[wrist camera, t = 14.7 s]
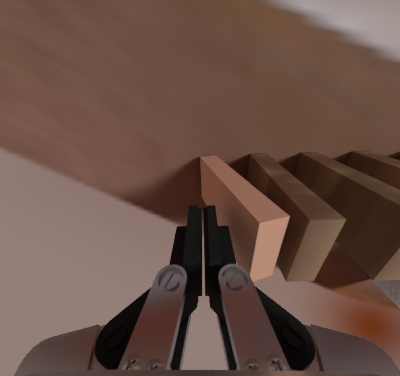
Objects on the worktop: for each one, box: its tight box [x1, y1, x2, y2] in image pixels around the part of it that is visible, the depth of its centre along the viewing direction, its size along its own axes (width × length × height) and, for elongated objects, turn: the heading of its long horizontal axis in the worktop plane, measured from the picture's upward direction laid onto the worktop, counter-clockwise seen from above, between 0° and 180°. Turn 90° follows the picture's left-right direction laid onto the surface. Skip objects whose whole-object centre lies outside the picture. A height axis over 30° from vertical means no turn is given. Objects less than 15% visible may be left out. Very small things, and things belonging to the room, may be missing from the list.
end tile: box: [200, 155, 290, 282], centre depth 13 cm, size 2×5×10 cm, turn 2°
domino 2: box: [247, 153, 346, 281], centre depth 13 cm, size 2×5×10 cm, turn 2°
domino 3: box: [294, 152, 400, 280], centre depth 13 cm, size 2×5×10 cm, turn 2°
